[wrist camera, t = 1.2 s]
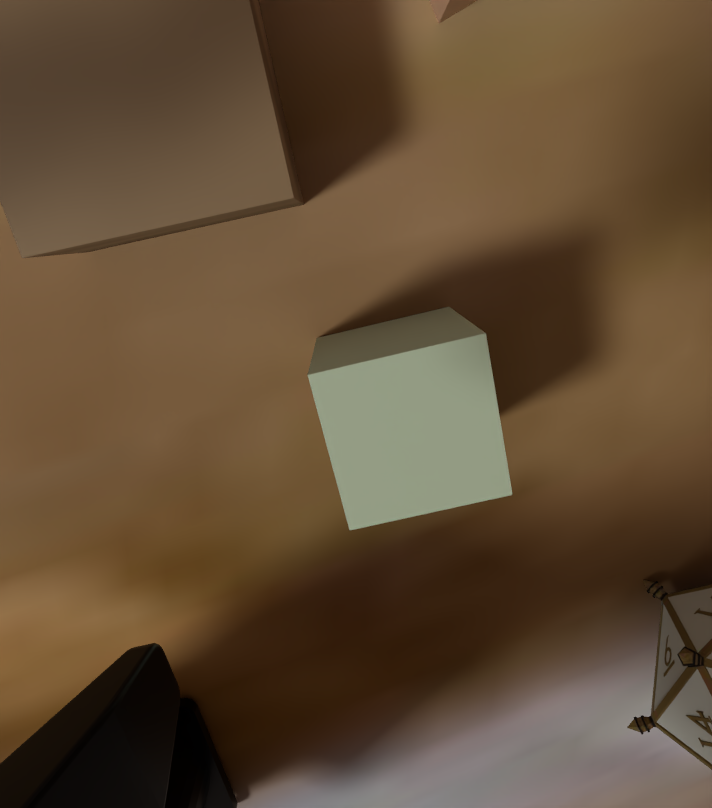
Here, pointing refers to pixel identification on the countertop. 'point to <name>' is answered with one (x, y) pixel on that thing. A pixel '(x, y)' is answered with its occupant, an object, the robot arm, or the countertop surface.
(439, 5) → the terracotta block
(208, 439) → the countertop surface
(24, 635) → the countertop surface
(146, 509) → the countertop surface
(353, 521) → the sage block
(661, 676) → the game die
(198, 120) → the walnut base
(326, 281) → the countertop surface
